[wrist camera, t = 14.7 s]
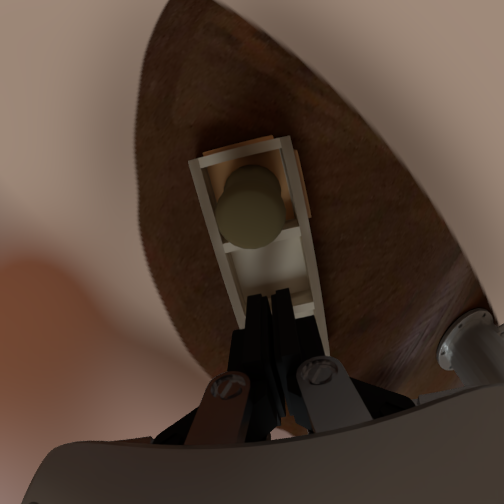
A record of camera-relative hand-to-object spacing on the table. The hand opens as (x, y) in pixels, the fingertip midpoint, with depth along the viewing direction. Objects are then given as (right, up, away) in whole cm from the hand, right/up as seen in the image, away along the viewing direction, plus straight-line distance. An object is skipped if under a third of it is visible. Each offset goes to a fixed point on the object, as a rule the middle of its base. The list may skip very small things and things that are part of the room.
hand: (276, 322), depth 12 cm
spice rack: (+1, +1, +22) cm, 22 cm away
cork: (-1, +9, +19) cm, 21 cm away
